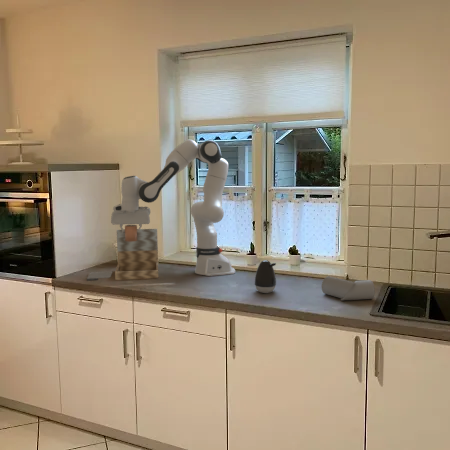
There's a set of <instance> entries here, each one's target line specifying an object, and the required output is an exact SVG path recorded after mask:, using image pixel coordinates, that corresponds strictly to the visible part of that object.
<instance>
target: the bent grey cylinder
mask: <svg viewBox="0 0 450 450" xmlns="http://www.w3.org/2000/svg"><path fill="white" fill-rule="evenodd" d="M375 289H376V288H375V284H374V282H373V280H370V279H367V280H365V279H364V280H361V279H360V280H355V281H351V280H346V279H343V278H338V277H334V276H330V275H329V276H328V275H327V276H325V277H324V278H323V280H322V282H321V290H322V293H323V294H324V295H327V296H331V297H335V298H339V299H340V301H341V302H342V301H353V300H354V301H357V300H358V301H359V300H360V301H361V300H373V299H374V297H375V296H376V295H375V294H376V290H375Z"/></svg>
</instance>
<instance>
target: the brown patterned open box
mask: <svg viewBox="0 0 450 450" xmlns="http://www.w3.org/2000/svg"><path fill="white" fill-rule="evenodd" d="M158 244H159V243H158V228H140V233H137V241H131V242H129V241H125V233H122V229H116V245H117V246H116V247H117V248H116V250H117V252H116V253H117V265H116V269H115V271H114V277H115V278H114V279H115V281H121V280H139V279H140V280H141V279H142V280H143V279H146V280H147V279H159V251H158V249H159V248H158Z"/></svg>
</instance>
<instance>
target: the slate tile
mask: <svg viewBox="0 0 450 450" xmlns="http://www.w3.org/2000/svg"><path fill="white" fill-rule="evenodd" d="M112 274H113V271H111V270H110V271H91V272H89V274H88V275H87V277H86V281H98V280H99V279H110V278H111V277H112Z"/></svg>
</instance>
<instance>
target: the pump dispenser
mask: <svg viewBox="0 0 450 450" xmlns="http://www.w3.org/2000/svg"><path fill="white" fill-rule="evenodd" d="M276 265H277V263H276V262H273V263H271V261H269V260H268V259H263V260H262V261H261V262H260V263H259V264H258V267H257V269H256V272H255V277H254V285H255V288H256V290H257V291H258V293H259V292H260V293H261V294H271V293H272V292H273V291H274V290H275V288H276V286H277V277H276V274H275V273H276V272H275V269H274V267H275V266H276Z"/></svg>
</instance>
